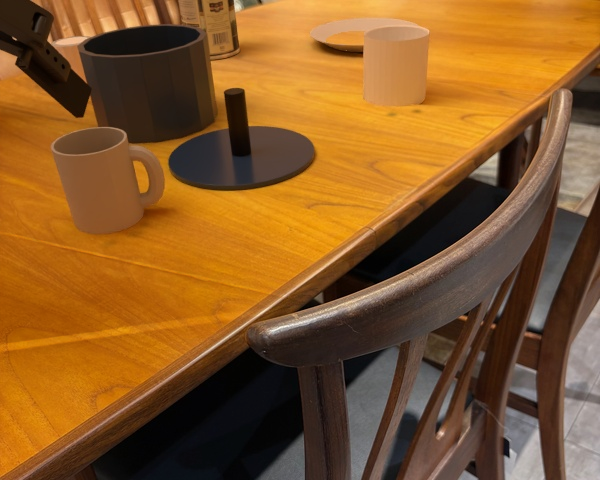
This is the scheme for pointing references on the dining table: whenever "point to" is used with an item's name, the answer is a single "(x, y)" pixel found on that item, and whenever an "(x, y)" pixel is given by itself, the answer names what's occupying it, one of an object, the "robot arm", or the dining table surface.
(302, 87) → the dining table surface
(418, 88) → the mug
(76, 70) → the shot glass
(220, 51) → the coffee can
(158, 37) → the pot
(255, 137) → the lid
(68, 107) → the robot arm
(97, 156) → the cup
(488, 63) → the dining table surface
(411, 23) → the plate
